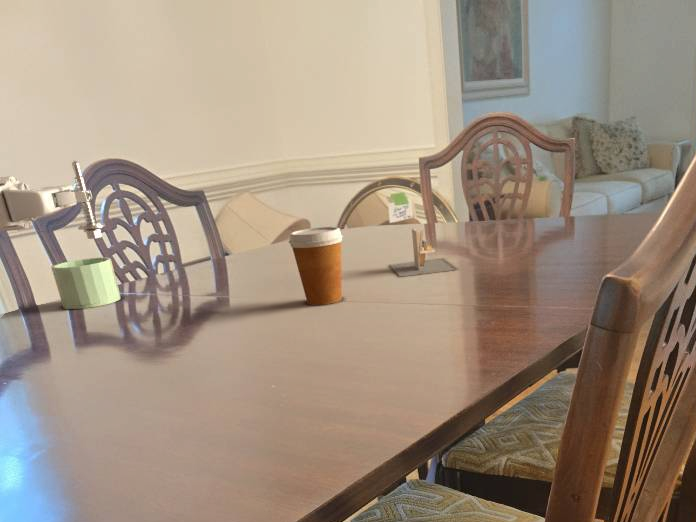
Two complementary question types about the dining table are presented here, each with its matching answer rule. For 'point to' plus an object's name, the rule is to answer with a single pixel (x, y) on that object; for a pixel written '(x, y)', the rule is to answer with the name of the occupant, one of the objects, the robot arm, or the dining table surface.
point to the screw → (86, 207)
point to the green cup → (86, 283)
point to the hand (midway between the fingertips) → (88, 195)
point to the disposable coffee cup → (319, 263)
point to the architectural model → (421, 259)
